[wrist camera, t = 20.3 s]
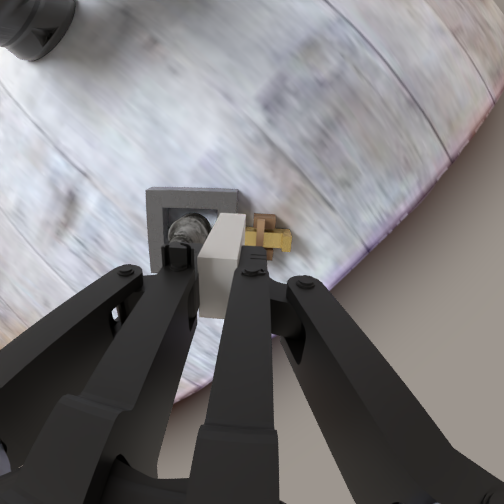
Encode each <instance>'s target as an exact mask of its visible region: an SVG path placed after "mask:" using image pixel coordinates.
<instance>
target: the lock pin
mask: <svg viewBox="0 0 504 504" xmlns="http://www.w3.org/2000/svg"><path fill="white" fill-rule="evenodd" d="M256 235H257V228H253V227H245V245H247V246H256ZM291 241H292V236H291V232H290V229H277V228H275V229H264V241H263V247H268V248H281V250H282V252H290V250H291Z"/></svg>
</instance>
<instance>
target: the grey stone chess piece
mask: <svg viewBox="0 0 504 504" xmlns="http://www.w3.org/2000/svg"><path fill="white" fill-rule="evenodd" d="M210 232H211V228H210V224H209V222H208V221H207V219H206V218H205V217H203V216H202V215H200V214H197V213H189V214H186V215H184V216H182V218H180V219H178V220H176V221H175V222H174V223H173V224H172V225H171V227H170V229H169V233H168V239H169V242H168V243H171V242H187V243H201V244H204V243H205V241H206V239H207V237H208V235H209V233H210Z"/></svg>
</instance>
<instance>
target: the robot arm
mask: <svg viewBox="0 0 504 504" xmlns="http://www.w3.org/2000/svg"><path fill="white" fill-rule="evenodd" d="M74 11H75V1H74V0H0V46H1V47H5V48H6V49H8V50H9V51H10V52H11V53H13V54H14V55H15V56H16V57H18V58H19V59H22V60H28V61H33V60H37V59H39V58H41V57H43V56H44V55H46V54H47V53H48V52H50V51H51V50H52V49H53V48H54V47H55V46H56V45H57V43H58V42H59V41H60V40H61V38H62V37H63V36H64V34H65V33H66V31H67V29H68V27H69V25H70V23H71V21H72V18H73V15H74ZM245 226H246V214H234V213H220V215H219V217H218V218H217V220H216V222H215V224H214V226H213V228H212V230H211V232H210V233H209V235H208V237H207V239H206V241H205V243H204V244H201V243H187V242H171V243H167V244H164V245H163V246H161V254H162V268H161V269H160V271H159V272H158V273H157V275H147V276H143V273H142V269H141V268H140V267H139V266H136V265H131V264H128V265H127V264H126V265H122V266H119V267H117V268H115V269H113V270H111V271H110V272H108V273H107V274H105V275H104V276H102V277H101V278H99V279H98V280H96V281H95V282H93V283H92V284H90V285H89V286H87V287H86V288H84V289H83V290H81V291H80V292H78V293H77V294H76V295H74V296H73V297H71V298H70V299H68V300H67V301H66V302H64V303H63V304H61V305H60V306H58V307H57V308H56V309H54V310H53V311H51V312H50V313H49V314H47V315H46V316H45V317H43V318H42V319H40V320H39V321H38V322H36V323H35V324H34V325H32V326H31V327H30V328H28V329H27V330H26V331H24V332H23V333H22V334H20V335H19V336H18V337H17V338H15V339H14V340H13V341H11V342H10V343H9V344H8V345H6V346H5V347H4V348H3V349H1V350H0V504H286V503H284V502H282V501H280V500H279V456H278V435H277V430H275V429H274V413H273V412H274V411H273V373H272V339H271V334H275V335H279V336H280V342H281V344H282V346H283V348H284V351H285V353H286V355H287V358H288V360H289V362H290V364H291V366H292V368H293V371H294V373H295V375H296V377H297V379H298V381H299V384H300V386H301V388H302V390H303V392H304V395H305V397H306V399H307V401H308V403H309V406H310V408H311V410H312V412H313V414H314V416H315V419H316V421H317V423H318V425H319V427H320V429H321V432H322V434H323V436H324V438H325V440H326V442H327V444H328V447H329V449H330V451H331V453H332V455H333V457H334V459H335V461H336V464H337V466H338V468H339V470H340V472H341V474H342V476H343V478H344V481H345V483H346V485H347V487H348V489H349V491H350V493H351V495H352V497H353V499H354V501H355V503H356V504H504V482H502V481H501V480H499V479H498V478H496V477H495V476H493V475H492V474H490V473H489V472H487V471H486V470H484V469H483V468H481V467H480V466H478V465H477V464H476V463H474V462H473V461H471V460H470V459H468V458H467V457H466V456H464V455H463V454H461V453H459V452H458V451H457V450H455V449H454V448H453V447H452V446H451V444H450V443H449V442H448V440H447V439H446V438H445V436H444V435H443V433H442V432H441V431H440V429H439V428H438V427H437V425H436V424H435V422H434V421H433V420H432V419H431V417H430V416H429V415H428V413H427V412H426V411H425V409H424V408H423V407H422V405H421V404H420V403H419V401H418V400H417V399H416V397H415V396H414V395H413V394H412V392H411V391H410V390H409V388H408V387H407V386H406V385H405V383H404V382H403V381H402V380H401V378H400V377H399V376H398V375H397V373H396V372H395V371H394V370H393V368H392V367H391V366H390V364H389V363H388V362H387V361H386V359H385V358H384V357H383V356H382V354H381V353H380V352H379V351H378V349H377V348H376V347H375V346H374V344H373V343H372V342H371V341H370V340H369V338H368V337H367V336H366V335H365V333H364V332H363V331H362V330H361V329H360V328H359V326H358V325H357V324H356V323H355V321H354V320H353V319H352V318H351V317H350V315H349V314H348V313H347V312H346V311H345V309H344V308H343V307H342V306H341V305H340V304H339V302H338V301H337V300H336V299H335V298H334V296H333V295H332V294H331V293H330V292H329V290H328V289H327V288H326V287H325V286H324V285H323V283H322V282H320V281H319V280H318V279H315V278H313V277H311V276H307V275H303V276H294V277H292V278H290V279H289V280H288V281H287V284H283V283H279V282H276V281H274V280H272V279H271V278H270V277H269V272H268V270H267V251H266V250H265V249H264V248H263V247H262V246H247V245H245ZM115 307H116V308H117V313H118V317H117V318H116V319H115V320H114V319H113V316H112V312H111V311H112V310H113V309H114V308H115ZM198 308H199V317H205V318H217V319H225V320H224V325H223V330H222V335H221V340H220V345H219V350H218V355H217V361H216V366H215V371H214V376H213V382H212V387H211V393H210V398H209V403H208V409H207V414H206V419H205V423H204V425H201V426H200V428H199V432H198V436H197V440H196V445H195V451H194V456H193V461H192V466H191V472H190V477H189V478H181V479H157V478H158V476H157V461H158V457H159V452H160V449H161V445H162V442H163V438H164V434H165V431H166V427H167V423H168V420H169V416H170V413H171V409H172V406H173V402H174V399H175V396H176V392H177V389H178V385H179V382H180V379H181V375H182V372H183V368H184V365H185V362H186V359H187V355H188V352H189V349H190V345H191V342H192V339H193V336H194V333H195V329H196V326H197V311H198ZM22 465H23V466H22ZM20 466H22V467H20ZM19 467H20V468H19Z"/></svg>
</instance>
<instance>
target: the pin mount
mask: <svg viewBox="0 0 504 504" xmlns="http://www.w3.org/2000/svg"><path fill="white" fill-rule="evenodd" d="M275 222H276V218H275V215H274V214H258V213H254V224H253V228H257V235H256V246H262V247H263V241H264V229H275ZM263 248H264V249H265V250H266V251H267V260H272V257H273V248H268V247H263Z"/></svg>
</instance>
